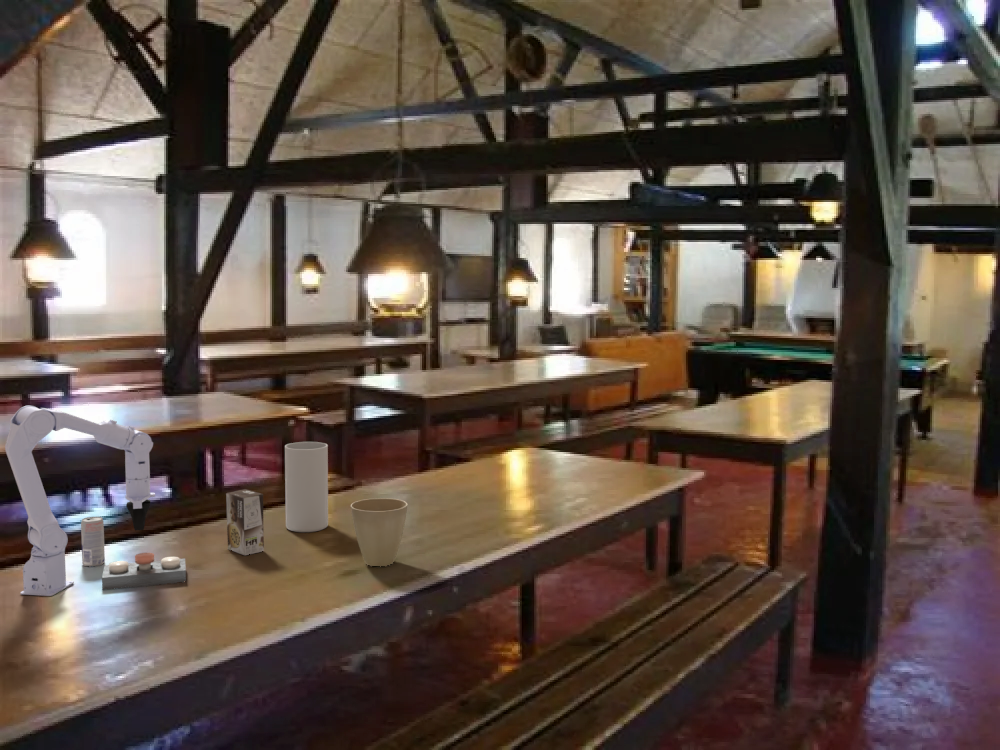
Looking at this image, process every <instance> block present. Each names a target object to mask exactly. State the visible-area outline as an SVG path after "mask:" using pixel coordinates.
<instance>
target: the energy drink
mask: <svg viewBox="0 0 1000 750" xmlns="http://www.w3.org/2000/svg"><path fill="white" fill-rule="evenodd" d="M104 527H105V525H104V520H103V517H102V516H87V517H84V518H82V519H81V522H80V529H81V530H80V533H81V537H80V538H81V561H82V565H83V566H84V567H86V566H89V567H88V568H92V567H91V566H95V567H99V565H100V566H102V565H104V564H105V561H106V559H105V557H106V556H105V554H106V553H105V532H104V531H105V528H104ZM103 563H104V564H103Z"/></svg>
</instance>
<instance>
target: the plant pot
mask: <svg viewBox="0 0 1000 750" xmlns="http://www.w3.org/2000/svg"><path fill="white" fill-rule="evenodd" d="M408 505H409V504H408V503H407V502H406V501H405V500H403V499H397V498H387V497H382V498H381V497H379V498H378V497H377V498H367V499H361V500H356V501H354V502H352V503H351V504H350V510H351V517H352V523H353V528H354V533H355V536H356V540H357V544H358V547H359V550H360V552H361V556H362V558H363V561H364V563H365V565H366V564H367V566H368V565H370V566H369V567H372V566H380V567H379V568H382V567H381V566H385V567H388V566H387V565H389V566H391V565H390V564H392V565H393V564H394V563H395V560H396V557H397V554H398V551H399V549H400V546H401V541H402V538H403V534H404V529H405V523H406V520H407V511H408ZM393 562H394V563H393Z"/></svg>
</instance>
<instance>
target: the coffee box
mask: <svg viewBox="0 0 1000 750" xmlns="http://www.w3.org/2000/svg"><path fill="white" fill-rule="evenodd" d="M225 495H226V529H227V534H226V535H227V550H229V551H231V550H232V551H231V552H234V553H237V554H240V555H243V556H250V555H253V554H258V553H262V551H263V552H264V551H265V547H264V546H265V541H264V539H265V538H264V537H265V535H264V533H265V532H264V530H265V529H264V494H263V493H260V492H257V491H253V490H250V489H246V488H244V489H239V490H235V491H231V492H227V493H225ZM249 554H250V555H249Z"/></svg>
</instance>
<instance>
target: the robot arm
mask: <svg viewBox="0 0 1000 750" xmlns="http://www.w3.org/2000/svg"><path fill="white" fill-rule="evenodd" d="M9 422H10V424H9V425H10V426H9V430H8V435H7V438H6V442H5V445H4V446H5V447H4V449H5V450H4V451H5V453H6V456H7V458H8V459H7V460H8V462H9V465H10V467H11V470H12V473H13V477H14V479H15V483H16V485H17V489H18V491H19V493H20V496H21V500H22V502H23V504H24V505H23V506H24V509H25V510H26V514H27V517H28V518H27V521H26V523H27V526H28V531H27V540H28V542H29V544H31V545H32V546H33V547H32V548H31V551H30V558H29V560H27V561H26V562H25V564H24V565H23V567H22V577H23V579H22V581H23V590H22V591H20V595H24V596H25V595H28V596H29V595H30V596H40V597H41V596H43V597H45V596H46V597H52V596H54V595H56V594H57V593H59V592H61V591H63V590H64V589H66V588H68V587H70V586H71V585H74V583H75V581H73V580H67V574H66V554H65V553H66V547H67V544H68V541H69V540H68V534H67V533H66V532H65V531H64V530H63V529H62V528H61V527H60V525H59V521H58V520H57V519H56V517H55V515H54V513H53V512H52V510H51V506H50V503H49V500H48V497H47V494H46V491H45V489H44V486H43V485H44V484H43V482H42V479H41V477H40V474H39V470H38V467H37V464H36V462H35V458H34V455H33V450H34V449H35V447H36V446H37V444H38V443H39V442H40V441H41V440H43V439H44V438H45V437H47V436H48V435H49V434H50V433H51V432H52V431H55V432H59V431H60V430H63V429H67V430H71V431H76V432H79V433H82V434H87V435H91V436H93V437H94V439H95V441H96V443H97V444H102V445H105V446H108V447H111V448H115V449H118V450H124V455H125V456H124V457H125V459H124V460H125V461H124V464H125V465H124V466H125V496H124V497H125V500H127V502H126V509H127V511H128V512H129V513H130V514H129V515H130V516H131V520H132V525H133V529H134V531H144V529H145V525H146V519H147V513H148V512H149V511H148V510H149V508H150V506H151V499H150V498H155V497H156V493H155V492H151V475H150V474H151V470H150V468H151V466H150V452H151V451H152V449H153V447H154V442H153V440H152V437H151V436H150V435H149V434H148V433H146V432H144V431H141V430H137V429H136V428H135V427H134V426H131V425H130V426H126V425H125V426H124V425H121V424H119V423H117V421H116V420H114V419H113V420H112V419H109V420H103V421H101V422H99V423H97V422H95V421H91V420H88V419H85V418H82V417H79V416H76V415H73V414H70V413H67V412H64V411H61V410H57V409H52V408H45V407H40V408H38V407H36V406H34V405H25V406H22V407H20V408H18V410H17V411H16V412H14V414H13V416H12V417H11V418H10V420H9Z"/></svg>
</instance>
